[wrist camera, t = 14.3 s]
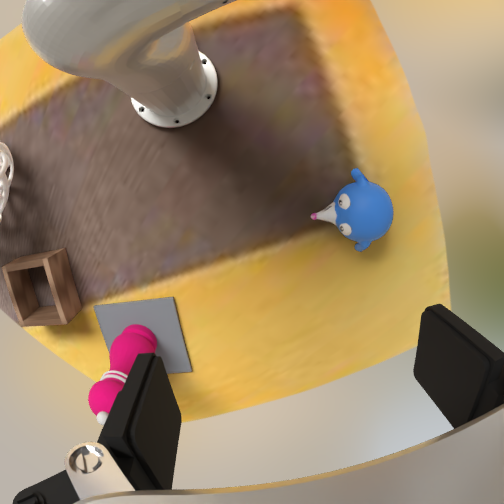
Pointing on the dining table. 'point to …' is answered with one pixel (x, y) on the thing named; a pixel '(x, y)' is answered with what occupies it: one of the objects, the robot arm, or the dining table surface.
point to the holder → (59, 285)
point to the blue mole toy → (360, 211)
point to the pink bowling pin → (120, 367)
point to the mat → (154, 318)
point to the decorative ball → (3, 153)
